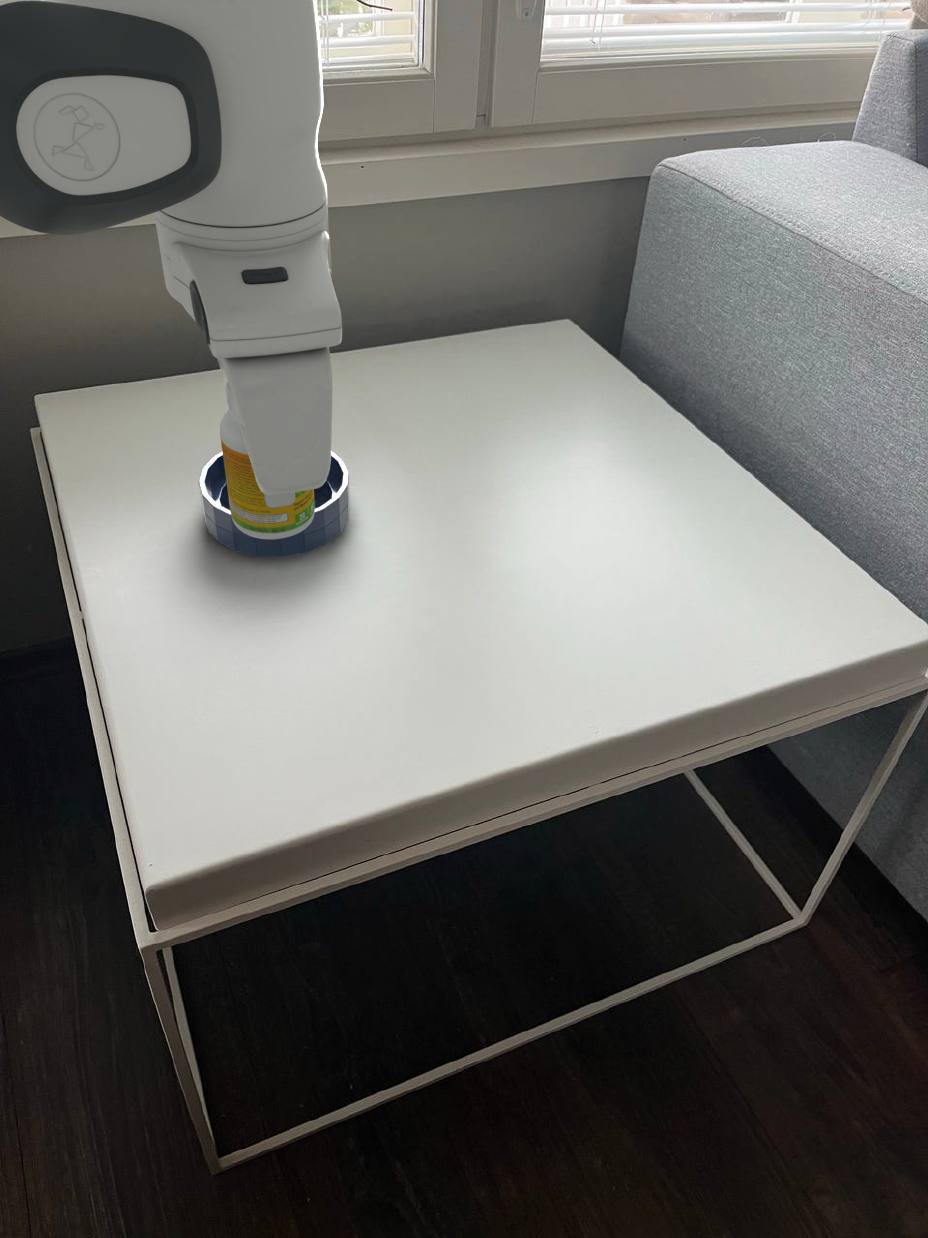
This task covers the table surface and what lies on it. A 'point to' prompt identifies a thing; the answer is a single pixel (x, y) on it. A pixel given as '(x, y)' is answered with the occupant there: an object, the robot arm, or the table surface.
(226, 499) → the blue bowl
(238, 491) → the supplement bottle
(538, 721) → the table surface
